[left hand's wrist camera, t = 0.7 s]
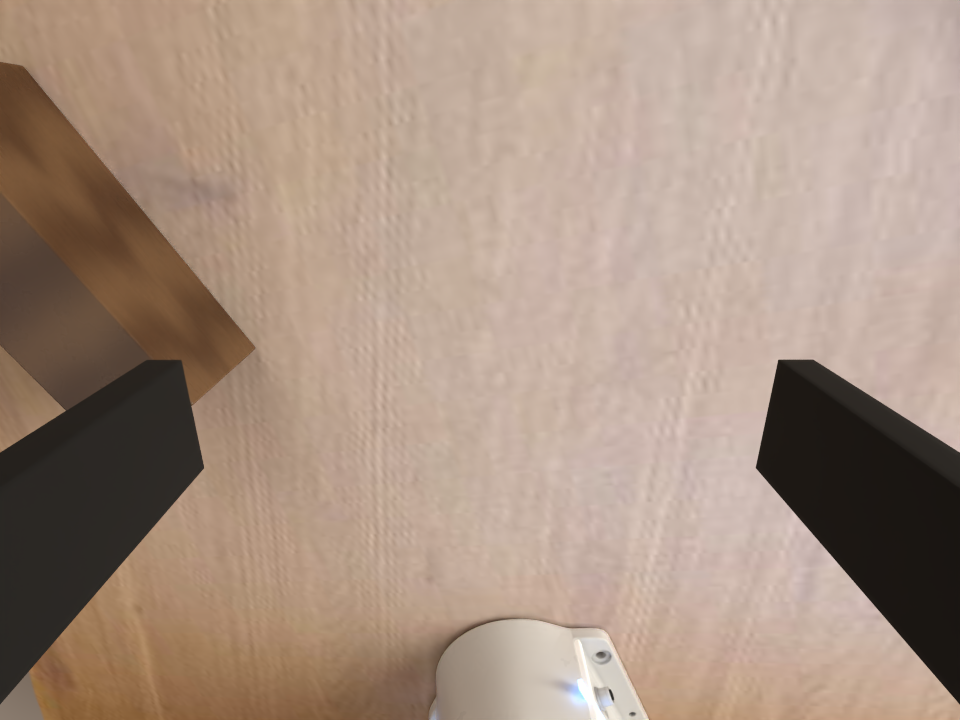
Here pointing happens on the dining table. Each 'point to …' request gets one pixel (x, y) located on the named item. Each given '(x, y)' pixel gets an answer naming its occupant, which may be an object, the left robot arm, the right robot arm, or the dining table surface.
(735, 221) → the dining table surface
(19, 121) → the box
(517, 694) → the right robot arm
